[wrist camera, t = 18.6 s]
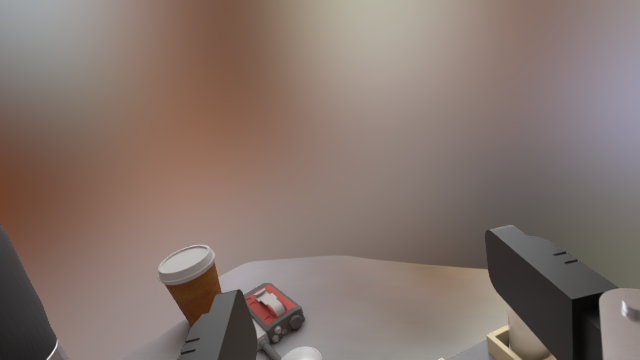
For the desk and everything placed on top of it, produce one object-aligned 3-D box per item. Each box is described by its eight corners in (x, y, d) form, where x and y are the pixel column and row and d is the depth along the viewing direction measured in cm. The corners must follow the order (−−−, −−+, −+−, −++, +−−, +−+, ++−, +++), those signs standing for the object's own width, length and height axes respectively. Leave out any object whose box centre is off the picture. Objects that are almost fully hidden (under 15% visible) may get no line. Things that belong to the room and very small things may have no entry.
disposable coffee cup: (169, 335, 60) (142, 276, 56) (200, 298, 68) (178, 245, 65) (216, 336, 57) (191, 273, 53) (243, 297, 65) (222, 241, 62)
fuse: (531, 380, 37) (525, 276, 33) (501, 354, 41) (492, 257, 37) (560, 364, 38) (558, 261, 34) (529, 340, 41) (523, 244, 37)
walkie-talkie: (228, 317, 61) (285, 386, 45) (220, 296, 60) (275, 359, 44) (271, 291, 66) (336, 344, 50) (264, 271, 64) (329, 319, 48)
